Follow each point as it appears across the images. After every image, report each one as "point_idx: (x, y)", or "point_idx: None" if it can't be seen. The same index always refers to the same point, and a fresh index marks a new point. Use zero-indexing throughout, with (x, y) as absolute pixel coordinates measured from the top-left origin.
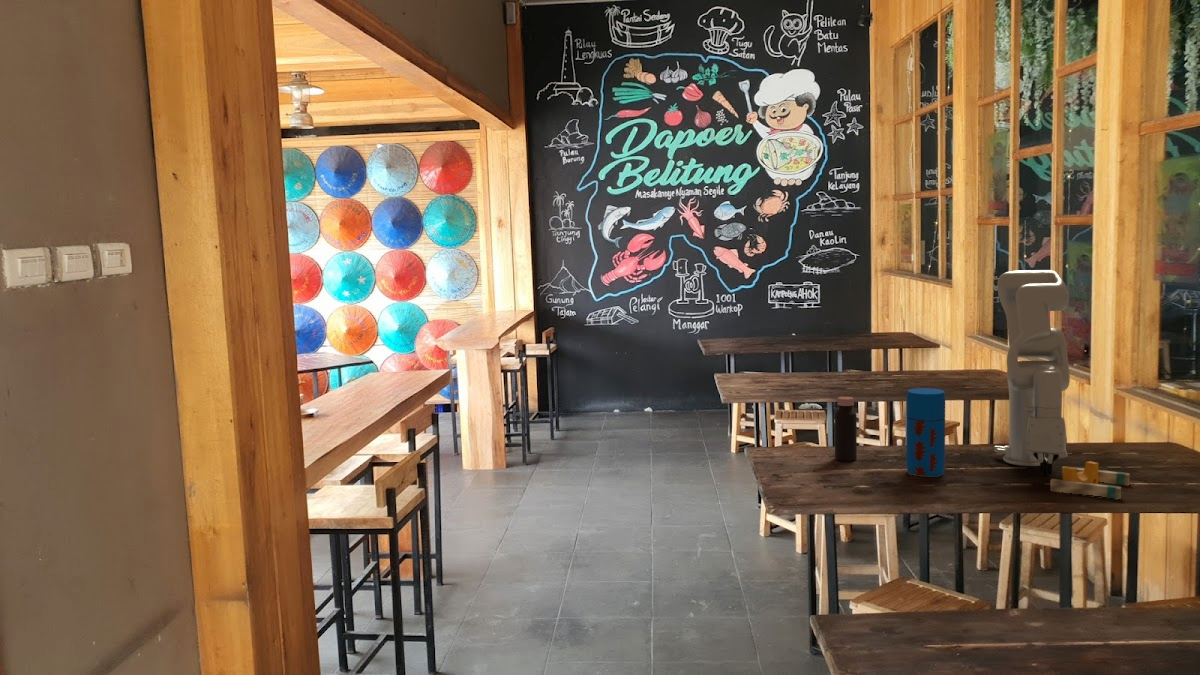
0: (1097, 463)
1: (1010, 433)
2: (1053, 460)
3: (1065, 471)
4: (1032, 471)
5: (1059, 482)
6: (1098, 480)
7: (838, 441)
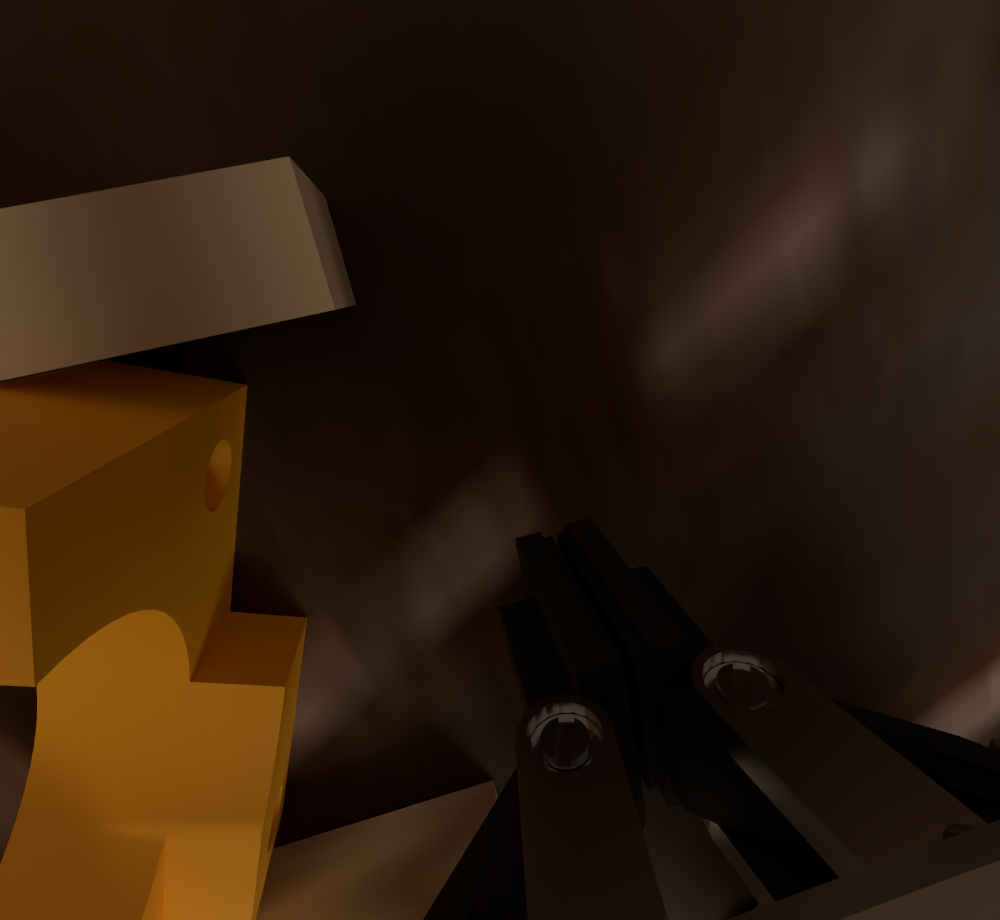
0: None
1: None
2: (509, 811)
3: (16, 462)
4: None
5: (122, 191)
6: None
7: None
